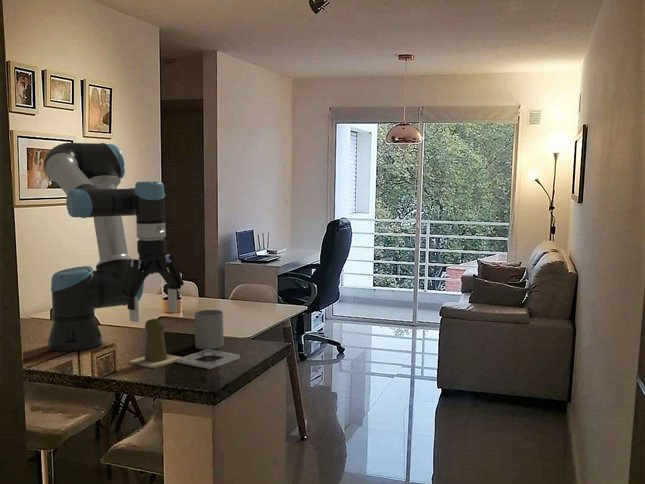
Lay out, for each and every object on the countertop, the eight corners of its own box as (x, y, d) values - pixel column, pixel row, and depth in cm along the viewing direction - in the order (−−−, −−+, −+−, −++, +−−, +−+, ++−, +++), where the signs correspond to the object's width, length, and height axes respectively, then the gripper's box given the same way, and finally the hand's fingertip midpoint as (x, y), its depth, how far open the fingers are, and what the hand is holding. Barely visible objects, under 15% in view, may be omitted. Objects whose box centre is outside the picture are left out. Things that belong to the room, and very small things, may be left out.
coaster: (129, 362, 170) (129, 360, 170) (157, 354, 179) (157, 352, 178) (154, 368, 165) (154, 366, 165) (182, 359, 173) (182, 357, 173)
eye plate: (177, 362, 170) (176, 359, 170) (207, 352, 180) (207, 348, 180) (209, 369, 164) (209, 365, 163) (239, 358, 174) (239, 354, 173)
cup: (217, 349, 183) (216, 316, 182) (190, 348, 184) (189, 315, 184) (227, 342, 191) (226, 310, 190) (202, 341, 193) (201, 309, 192)
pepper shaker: (172, 357, 173) (170, 318, 172) (155, 363, 167) (154, 322, 166) (156, 354, 176) (155, 316, 175) (139, 360, 171) (138, 320, 170)
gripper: (123, 243, 156) (126, 327, 158) (194, 235, 177) (196, 309, 179) (103, 242, 160) (107, 323, 162) (176, 234, 181) (178, 307, 183)
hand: (154, 316), depth 171 cm, fingers open, 13 cm apart
